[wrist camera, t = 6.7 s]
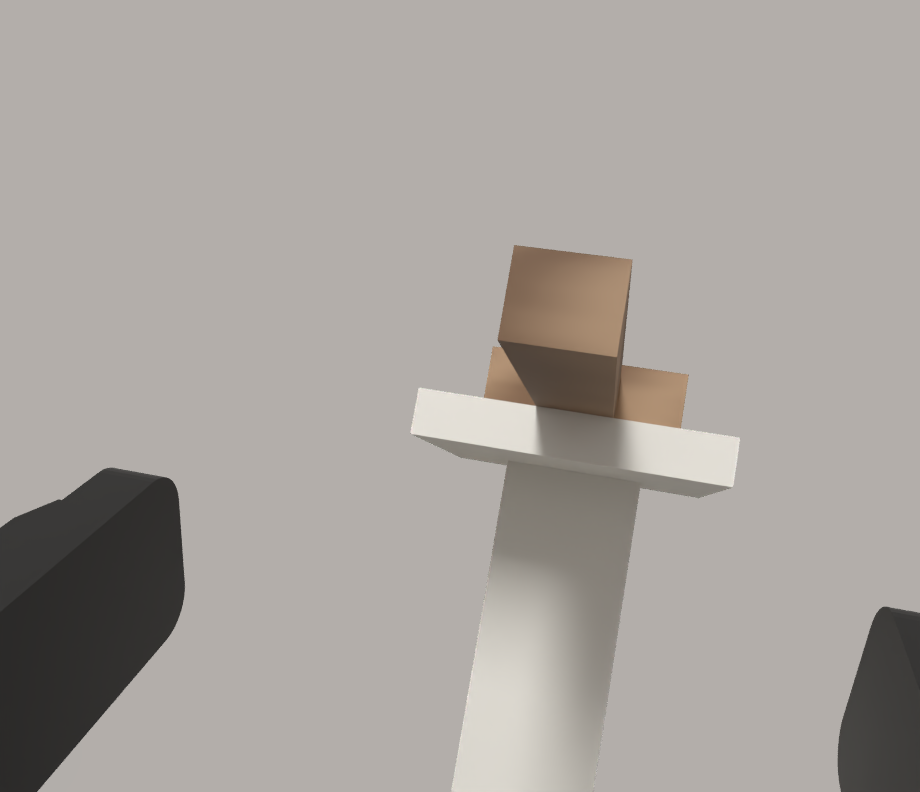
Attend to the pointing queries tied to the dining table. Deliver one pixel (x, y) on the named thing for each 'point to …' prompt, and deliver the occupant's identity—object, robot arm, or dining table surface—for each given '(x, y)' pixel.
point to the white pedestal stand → (556, 575)
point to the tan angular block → (575, 341)
